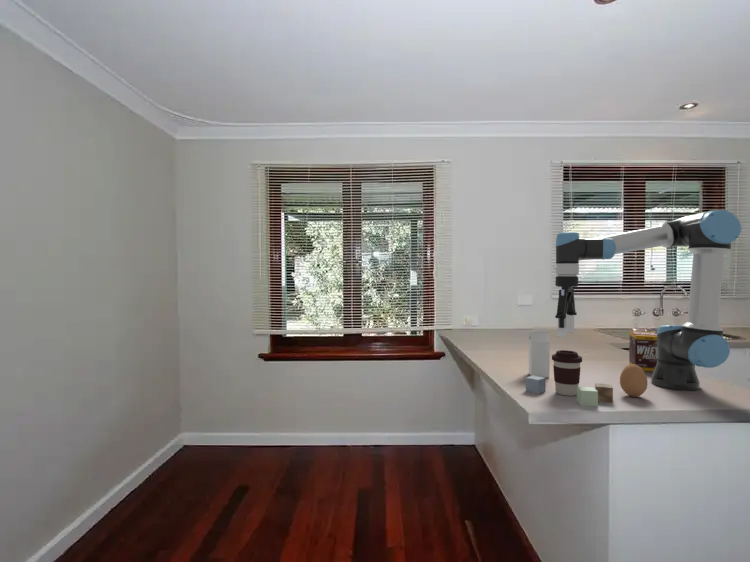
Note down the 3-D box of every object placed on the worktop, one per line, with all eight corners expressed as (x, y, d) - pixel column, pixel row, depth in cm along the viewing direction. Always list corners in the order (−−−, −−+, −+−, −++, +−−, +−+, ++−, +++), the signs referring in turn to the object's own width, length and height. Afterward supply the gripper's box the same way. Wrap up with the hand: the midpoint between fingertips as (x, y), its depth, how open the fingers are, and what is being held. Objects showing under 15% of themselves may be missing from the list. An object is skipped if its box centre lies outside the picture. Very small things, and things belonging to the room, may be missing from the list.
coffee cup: (545, 391, 157) (545, 350, 156) (565, 388, 160) (565, 348, 160) (567, 398, 147) (567, 355, 147) (588, 395, 151) (588, 353, 151)
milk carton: (549, 378, 176) (549, 332, 176) (531, 377, 178) (531, 331, 177) (546, 373, 183) (546, 329, 183) (528, 373, 185) (528, 329, 184)
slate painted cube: (545, 391, 157) (545, 377, 157) (538, 394, 154) (538, 380, 154) (532, 388, 161) (532, 375, 161) (525, 391, 157) (525, 377, 157)
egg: (636, 401, 144) (637, 367, 144) (614, 394, 152) (614, 363, 152) (652, 398, 148) (653, 365, 148) (630, 392, 155) (630, 361, 155)
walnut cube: (611, 398, 148) (611, 384, 147) (612, 402, 143) (612, 388, 143) (595, 397, 150) (595, 382, 150) (595, 401, 145) (596, 386, 145)
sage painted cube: (592, 402, 144) (592, 387, 144) (597, 406, 139) (597, 391, 139) (576, 401, 145) (576, 386, 145) (581, 405, 140) (581, 390, 140)
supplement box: (634, 370, 189) (635, 335, 189) (628, 363, 204) (629, 330, 203) (662, 372, 185) (662, 336, 185) (654, 365, 200) (654, 331, 199)
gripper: (563, 275, 166) (562, 330, 166) (547, 275, 145) (546, 338, 146) (584, 275, 161) (583, 331, 162) (571, 276, 141) (570, 340, 141)
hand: (566, 335), depth 154 cm, fingers open, 13 cm apart
